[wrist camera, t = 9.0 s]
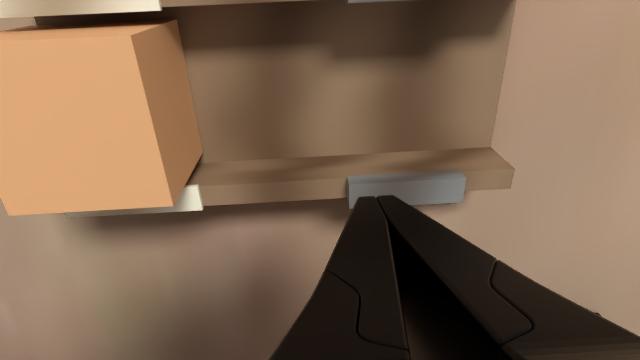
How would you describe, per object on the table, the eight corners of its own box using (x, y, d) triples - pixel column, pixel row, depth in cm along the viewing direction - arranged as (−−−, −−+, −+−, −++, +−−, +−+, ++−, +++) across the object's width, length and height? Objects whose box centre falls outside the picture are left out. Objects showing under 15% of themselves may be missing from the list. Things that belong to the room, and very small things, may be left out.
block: (177, 19, 16) (130, 35, 12) (202, 152, 19) (173, 206, 14) (29, 25, 16) (-74, 45, 12) (77, 159, 19) (8, 215, 14)
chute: (513, -51, 16) (577, -58, 13) (478, 163, 21) (517, 204, 17) (33, -30, 16) (-50, -31, 12) (105, 184, 21) (61, 231, 17)
